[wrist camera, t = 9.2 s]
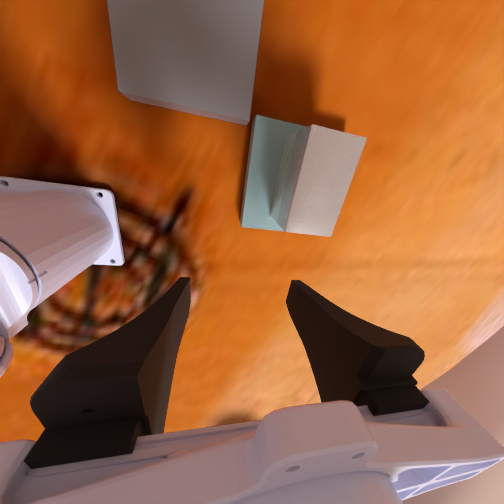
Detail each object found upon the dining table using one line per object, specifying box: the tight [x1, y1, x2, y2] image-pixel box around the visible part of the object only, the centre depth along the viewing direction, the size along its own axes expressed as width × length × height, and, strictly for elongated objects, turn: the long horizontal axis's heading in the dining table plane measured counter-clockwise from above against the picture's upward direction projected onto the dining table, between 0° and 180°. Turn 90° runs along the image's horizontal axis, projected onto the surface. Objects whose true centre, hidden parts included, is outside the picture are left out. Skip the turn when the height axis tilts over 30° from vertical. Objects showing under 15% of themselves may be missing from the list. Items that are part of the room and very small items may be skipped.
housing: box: [270, 124, 367, 237], centre depth 15 cm, size 4×7×5 cm, turn 171°
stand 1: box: [107, 0, 264, 126], centre depth 12 cm, size 10×10×2 cm
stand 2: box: [240, 115, 307, 231], centre depth 18 cm, size 10×10×2 cm
